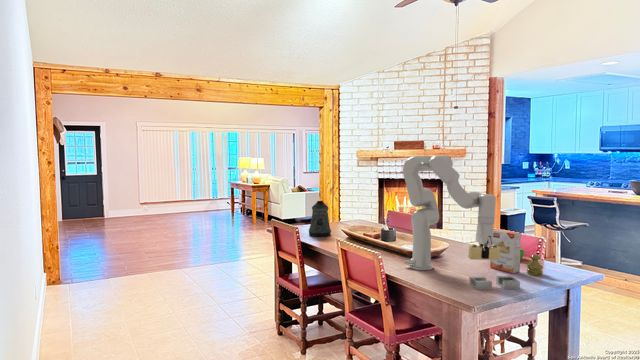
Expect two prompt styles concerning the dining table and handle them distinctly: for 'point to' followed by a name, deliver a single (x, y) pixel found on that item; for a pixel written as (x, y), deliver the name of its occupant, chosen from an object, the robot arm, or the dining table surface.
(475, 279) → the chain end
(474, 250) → the link
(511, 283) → the chain end
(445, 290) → the dining table surface
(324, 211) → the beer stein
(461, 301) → the dining table surface
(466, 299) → the dining table surface
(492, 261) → the cracker box
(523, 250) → the fruit basket
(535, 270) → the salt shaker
